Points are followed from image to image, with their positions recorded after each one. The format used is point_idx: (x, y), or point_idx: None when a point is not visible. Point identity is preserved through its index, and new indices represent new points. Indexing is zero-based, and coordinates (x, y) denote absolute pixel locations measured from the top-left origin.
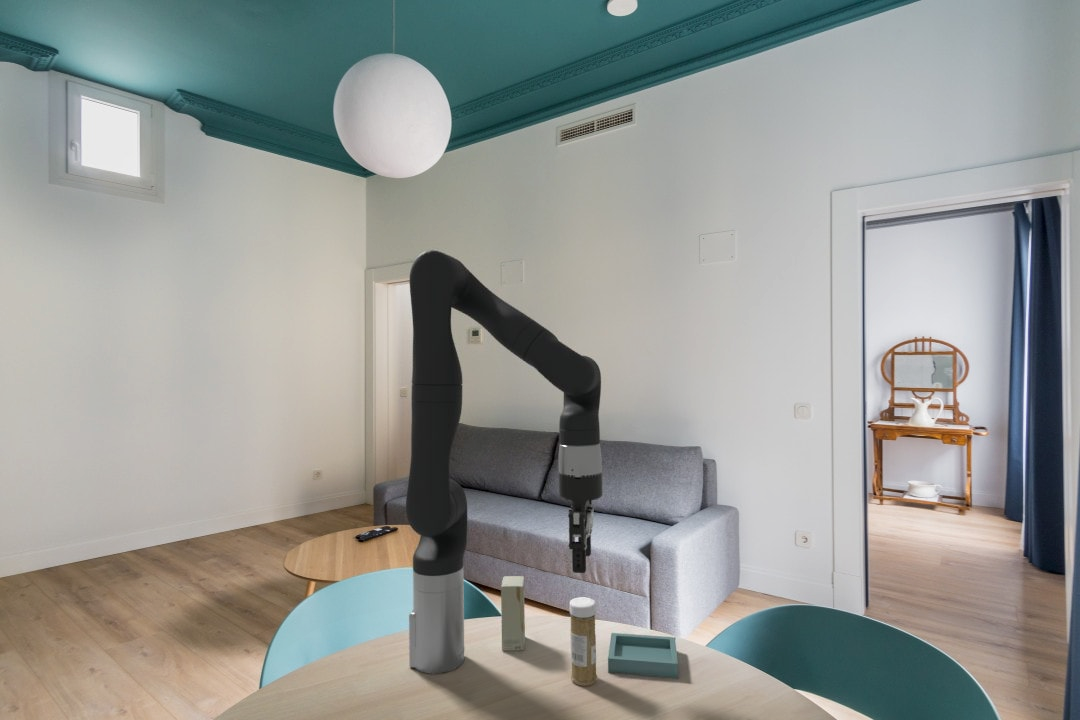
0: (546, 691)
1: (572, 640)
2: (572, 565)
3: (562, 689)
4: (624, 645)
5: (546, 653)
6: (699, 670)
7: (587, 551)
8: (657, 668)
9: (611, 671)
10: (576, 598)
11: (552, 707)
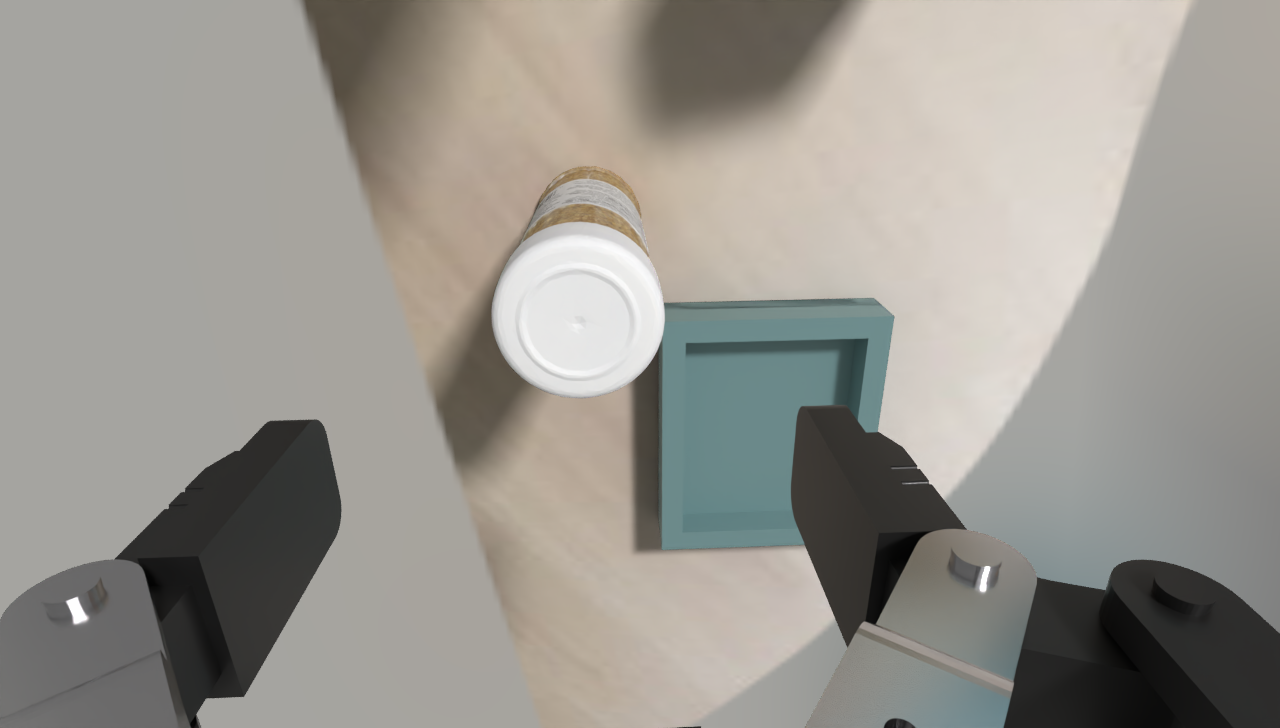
0: (470, 74)
1: (542, 211)
2: (246, 445)
3: (501, 141)
4: (841, 357)
5: (790, 9)
6: (719, 574)
7: (801, 508)
8: (660, 478)
9: None
10: (627, 277)
11: (367, 122)
